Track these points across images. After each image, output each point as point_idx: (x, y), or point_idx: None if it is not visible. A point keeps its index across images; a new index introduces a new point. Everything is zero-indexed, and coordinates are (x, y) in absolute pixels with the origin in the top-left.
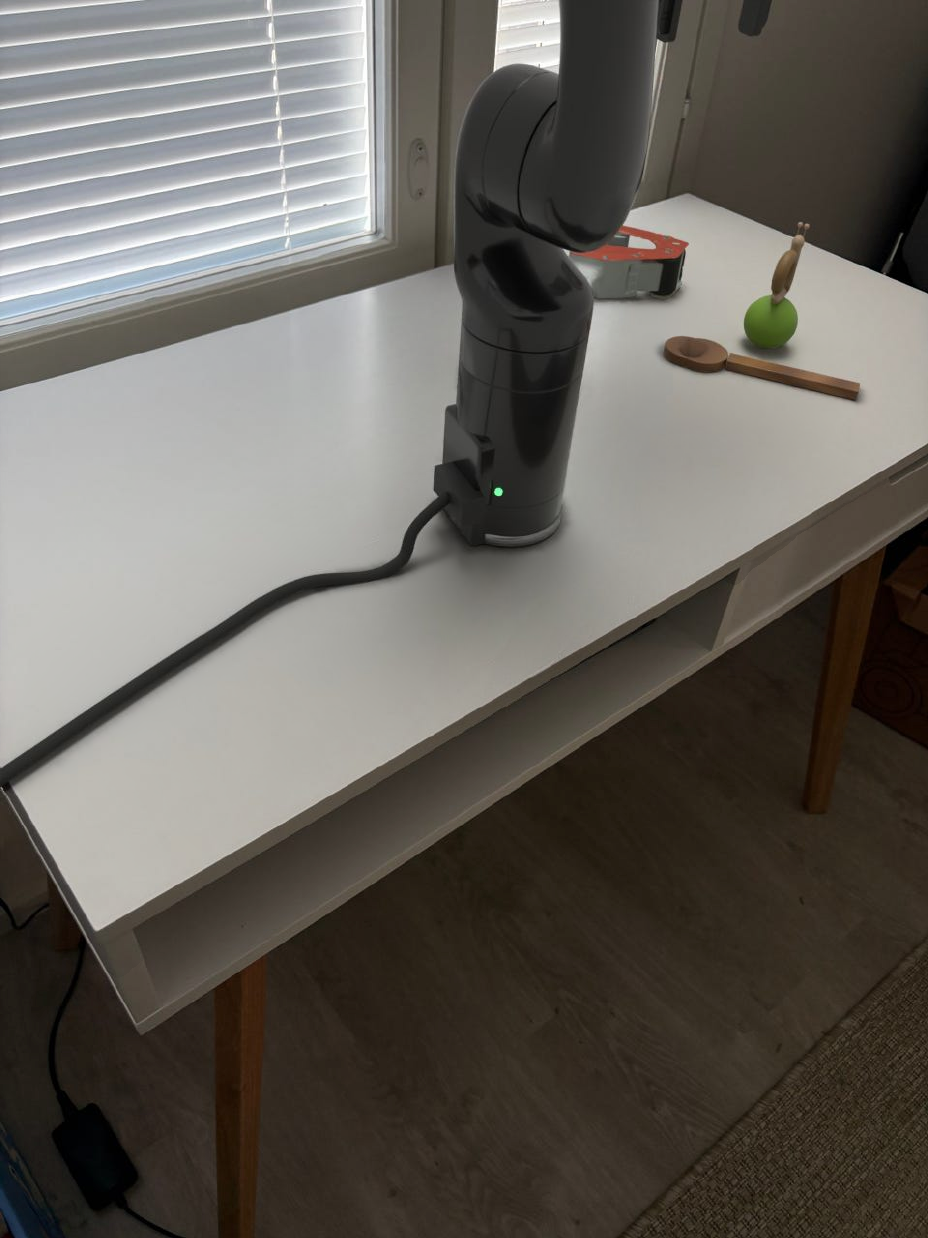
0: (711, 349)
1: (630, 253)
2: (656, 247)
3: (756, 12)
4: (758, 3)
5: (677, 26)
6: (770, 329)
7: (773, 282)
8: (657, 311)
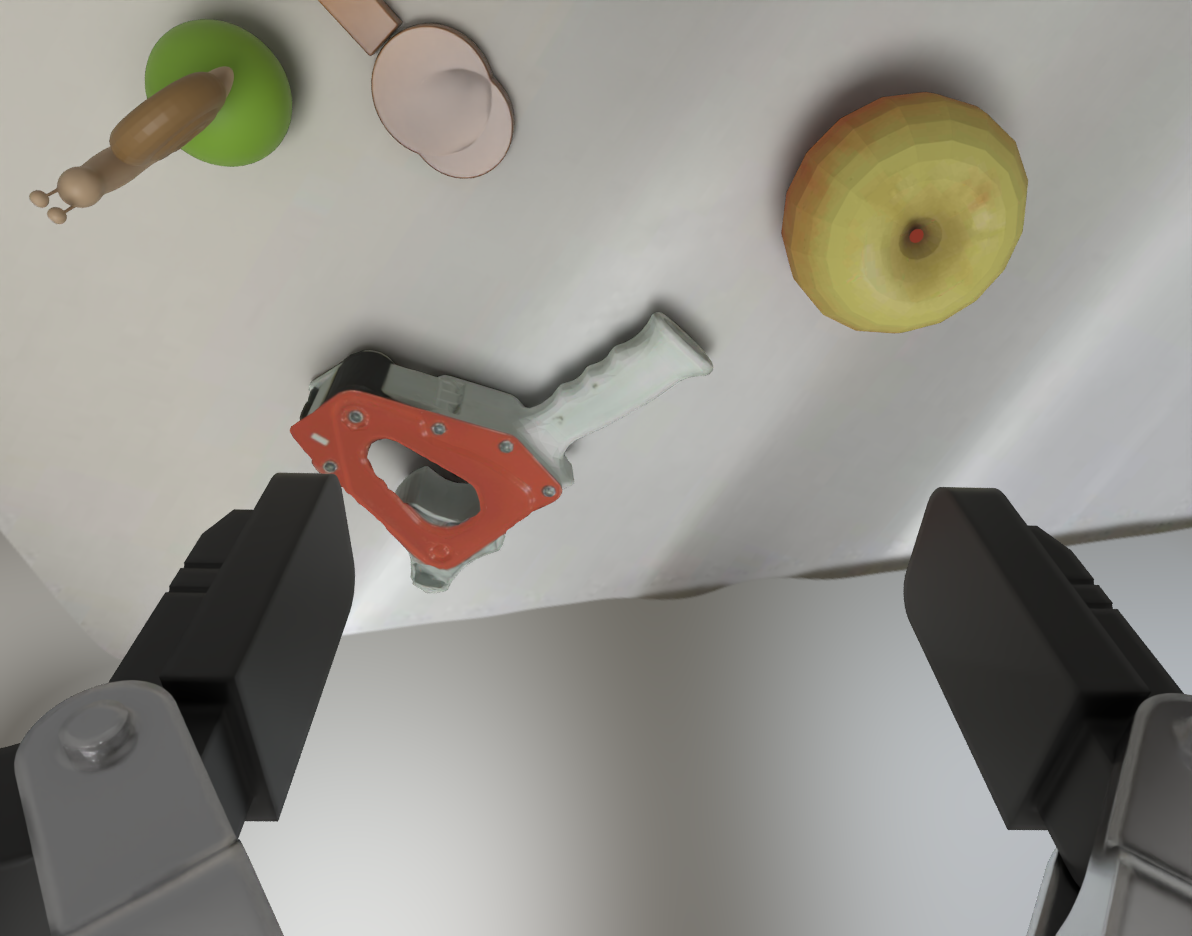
0: (409, 88)
1: (443, 440)
2: (373, 440)
3: (303, 563)
4: (285, 604)
5: (974, 527)
6: (252, 42)
7: (224, 92)
8: (419, 312)
